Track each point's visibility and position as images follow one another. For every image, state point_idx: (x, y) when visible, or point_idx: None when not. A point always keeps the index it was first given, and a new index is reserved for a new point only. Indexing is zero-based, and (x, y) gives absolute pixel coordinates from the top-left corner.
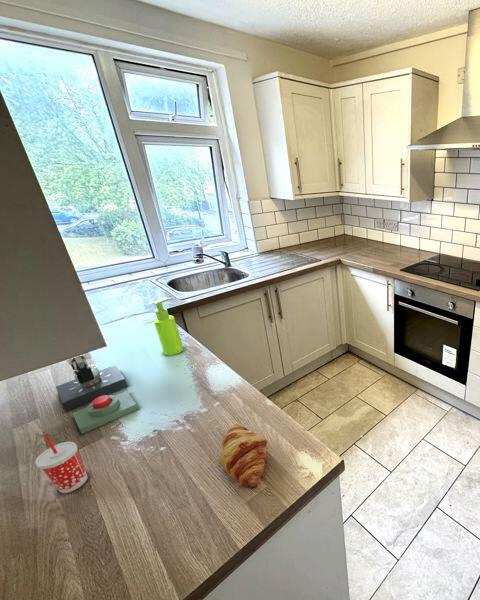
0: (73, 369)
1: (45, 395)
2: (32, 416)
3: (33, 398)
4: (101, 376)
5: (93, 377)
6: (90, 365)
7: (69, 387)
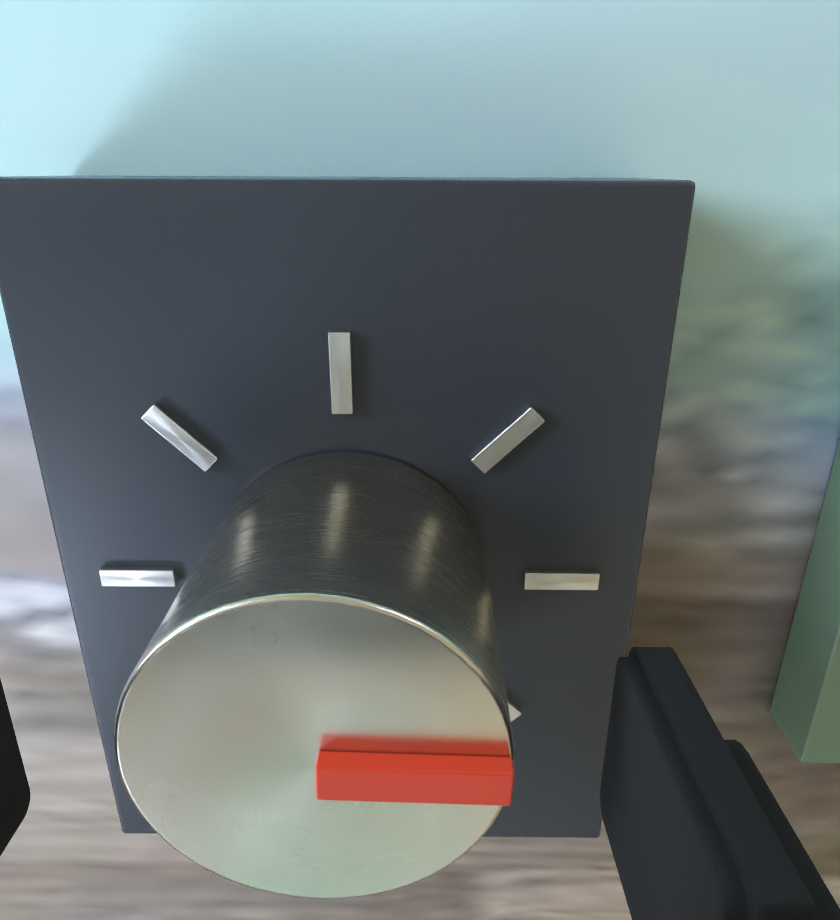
0: (16, 813)
1: (84, 808)
2: (403, 894)
3: (70, 866)
4: (279, 442)
5: (676, 673)
6: (183, 671)
7: None
